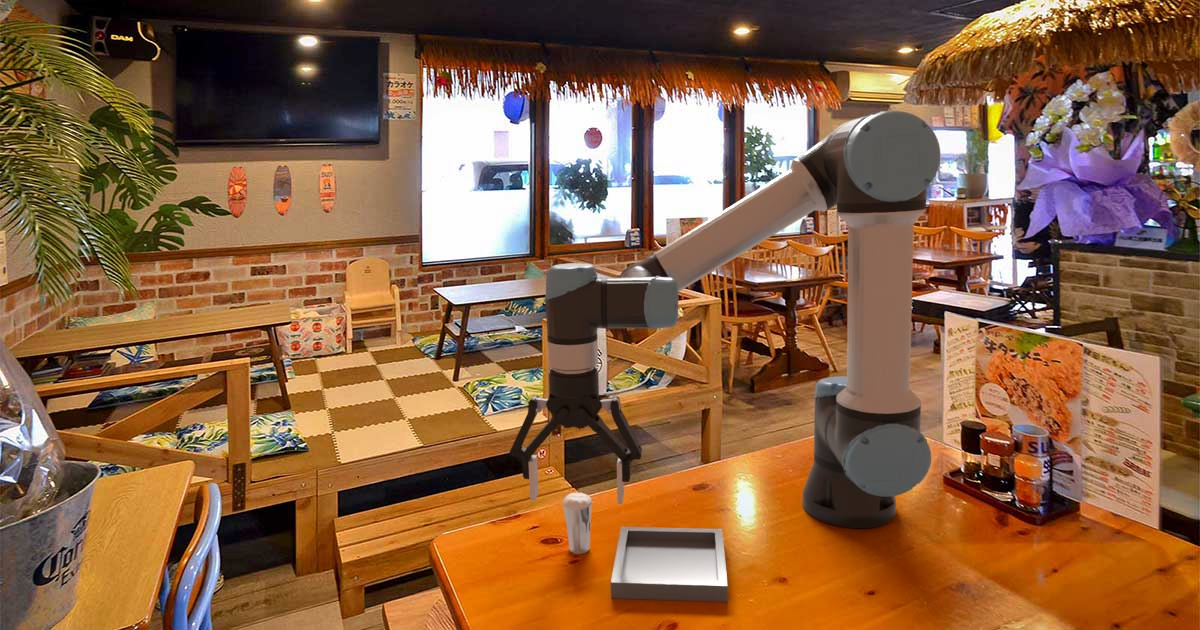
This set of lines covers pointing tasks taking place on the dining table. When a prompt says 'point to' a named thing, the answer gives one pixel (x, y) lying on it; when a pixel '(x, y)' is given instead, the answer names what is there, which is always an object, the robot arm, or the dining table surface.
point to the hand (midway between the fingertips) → (577, 499)
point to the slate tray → (670, 564)
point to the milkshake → (578, 521)
